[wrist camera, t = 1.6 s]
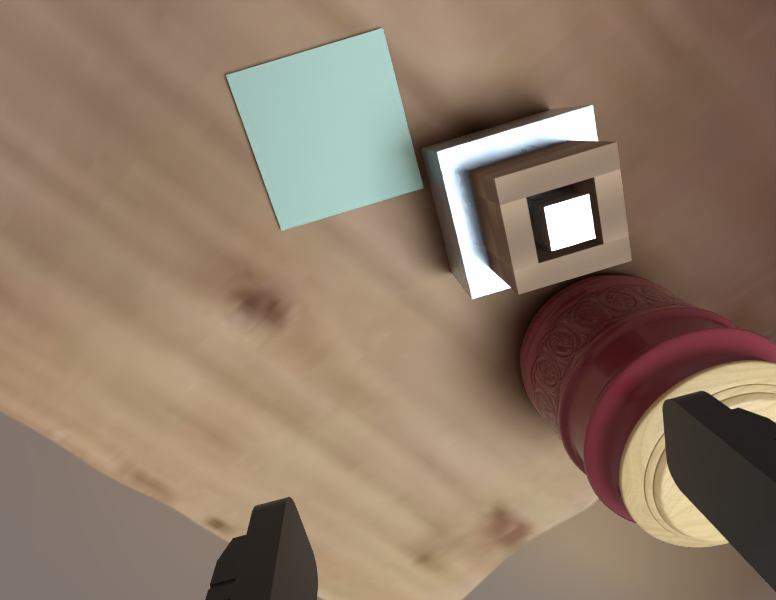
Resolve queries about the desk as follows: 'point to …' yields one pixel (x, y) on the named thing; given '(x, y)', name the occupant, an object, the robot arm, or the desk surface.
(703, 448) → the robot arm
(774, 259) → the desk surface
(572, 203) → the block
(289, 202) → the mat
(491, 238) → the hollow wooden block
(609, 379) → the canister
